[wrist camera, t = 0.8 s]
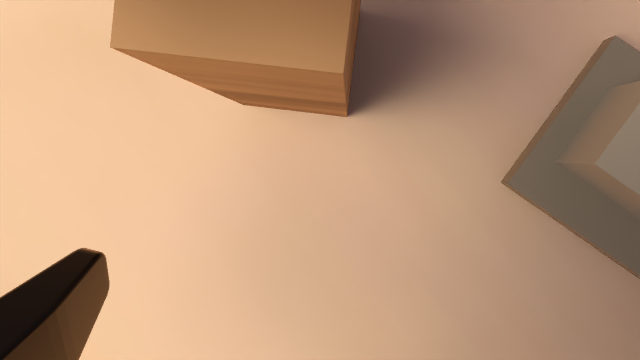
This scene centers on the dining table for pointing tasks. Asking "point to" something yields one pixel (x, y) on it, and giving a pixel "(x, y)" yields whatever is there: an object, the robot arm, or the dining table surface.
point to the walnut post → (248, 47)
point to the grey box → (591, 156)
